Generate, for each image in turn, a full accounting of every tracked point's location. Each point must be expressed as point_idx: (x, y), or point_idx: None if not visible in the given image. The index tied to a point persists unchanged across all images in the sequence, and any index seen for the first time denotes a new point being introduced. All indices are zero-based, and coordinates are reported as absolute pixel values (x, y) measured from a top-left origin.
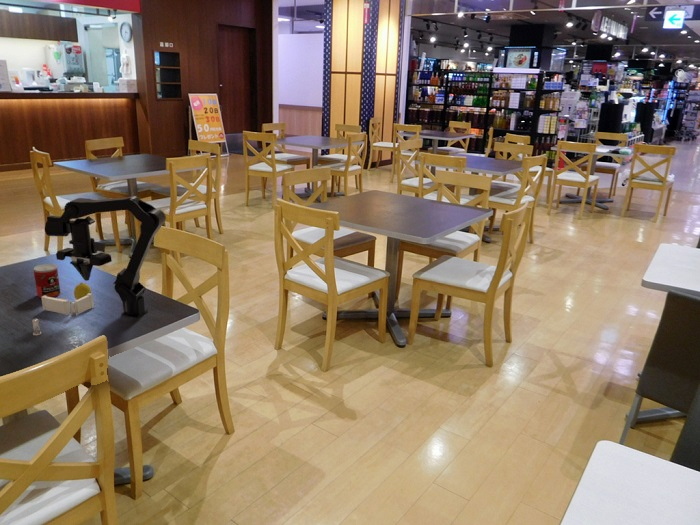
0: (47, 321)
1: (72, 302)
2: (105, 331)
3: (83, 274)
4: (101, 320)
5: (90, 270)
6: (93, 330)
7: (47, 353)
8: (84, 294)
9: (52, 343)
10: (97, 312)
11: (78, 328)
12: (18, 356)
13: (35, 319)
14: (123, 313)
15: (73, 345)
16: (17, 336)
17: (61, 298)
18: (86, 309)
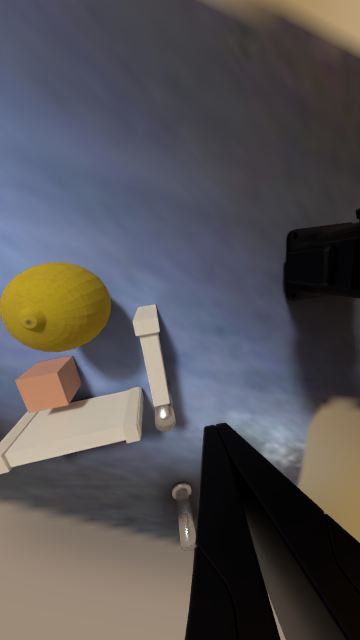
0: (130, 445)
1: (165, 421)
2: (313, 391)
3: (262, 560)
4: (258, 356)
5: (342, 547)
6: (283, 405)
7: None
8: (104, 324)
9: None
10: (201, 325)
11: (241, 420)
12: None
13: (189, 544)
14: (294, 292)
15: (296, 466)
16: (153, 517)
17: (26, 379)
18: (159, 339)
